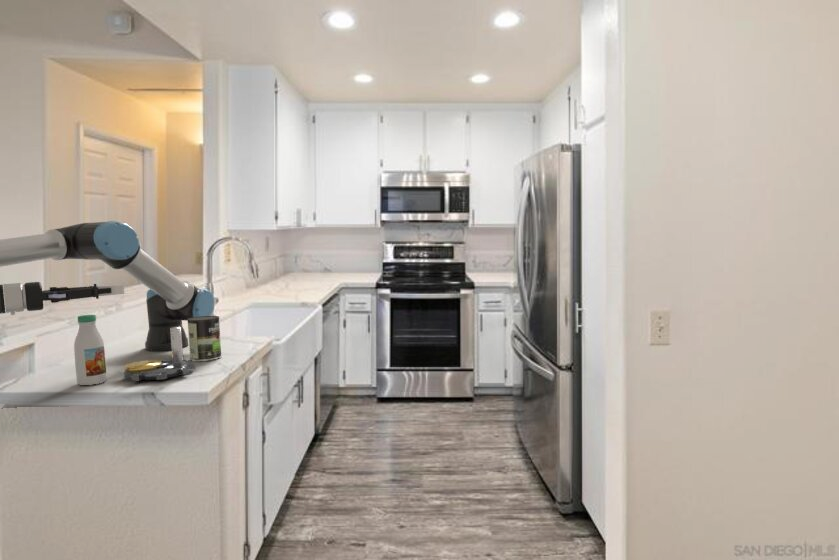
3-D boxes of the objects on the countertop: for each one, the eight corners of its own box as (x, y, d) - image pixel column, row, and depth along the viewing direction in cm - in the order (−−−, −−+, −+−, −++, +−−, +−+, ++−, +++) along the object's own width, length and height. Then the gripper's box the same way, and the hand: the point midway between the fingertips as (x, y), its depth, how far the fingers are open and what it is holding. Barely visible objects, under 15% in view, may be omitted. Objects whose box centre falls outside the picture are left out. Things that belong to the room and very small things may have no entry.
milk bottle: (75, 387, 169) (69, 318, 167) (78, 381, 176) (73, 315, 174) (106, 384, 172) (100, 316, 170) (108, 378, 179) (102, 312, 177)
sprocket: (124, 370, 185) (120, 326, 184) (191, 362, 193) (188, 320, 192) (124, 384, 167) (120, 336, 166) (197, 375, 176) (194, 328, 175)
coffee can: (227, 355, 207) (225, 315, 206) (211, 362, 197) (208, 320, 196) (200, 355, 209) (198, 315, 208) (183, 361, 199) (180, 320, 198)
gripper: (25, 308, 161) (120, 300, 175) (26, 313, 151) (128, 304, 164) (22, 281, 160) (118, 274, 174) (24, 284, 150) (126, 277, 163)
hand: (123, 289), depth 169 cm, fingers closed
